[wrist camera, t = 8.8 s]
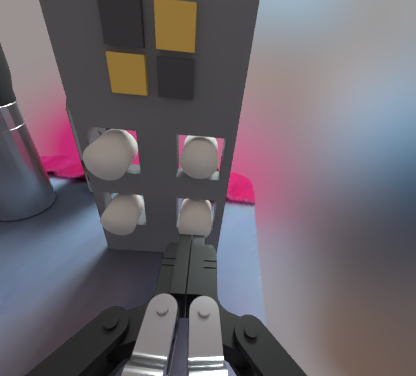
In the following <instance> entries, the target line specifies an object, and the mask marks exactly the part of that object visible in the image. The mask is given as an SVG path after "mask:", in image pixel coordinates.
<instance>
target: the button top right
mask: <svg viewBox="0 0 416 376" xmlns="http://www.w3.org/2000/svg"><path fill="white" fill-rule="evenodd" d="M180 164H181V168H182V170H183V171H184V172H185V173H186V174H187V175H188V176H190V177H192V178H196V179H204V178H208V177H210V176H211V175H213V174H214V173H215V171H216V170H217V168H218V164H219V160H218V146H217V141H216V139H215V138H213V137H201V136H190V135H189V136H188V137H187V138H186V140H185V143H184V147H183V150H182V154H181V158H180Z"/></svg>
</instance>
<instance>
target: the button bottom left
mask: <svg viewBox="0 0 416 376" xmlns="http://www.w3.org/2000/svg"><path fill="white" fill-rule="evenodd" d="M143 208H144V201H143V199H142V197H141V196H140V195H132V194H118V193H116V194H115V196H114V197H113V199H112V200H111V202H110V203H109V205H108V206H107V208H106V210H105V211H104V213H103V214H102V216H101V219H100V221H101V224H102V226H103V227H104V228H105V229H106V230H107V231H109V232H111V233H113V234H116V235H128V234H130V233H132V232H133V231H134V230H135V227H136V225H137V222H138V220H139V218H140V215H141V213H142V210H143Z"/></svg>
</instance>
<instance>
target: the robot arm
mask: <svg viewBox="0 0 416 376" xmlns="http://www.w3.org/2000/svg"><path fill="white" fill-rule="evenodd" d="M55 199H56V194H55V192H54V190H53V186H52V185H51V182H50V180H49V177H48V175H47V172H46V170H45V167H44V165H43V163H42V160H41V158H40V155H39V153H38V151H37V148H36V146H35V143H34V141H33V138H32V136H31V133H30V131H29V128H28V126H27V124H26V121H25V119H24V117H23V114H22V112H21V109H20V107H19V104H18V102H17V99H16V97H15V94H14V92H13V89H12V81H11V74H10V70H9V66H8V64H7V61H6V58H5V55H4V53H3V50H2V47H1V44H0V220H1V221H14V220H20V219H25V218H28V217H31V216H34V215H36V214H38V213H40V212H42V211H44V210H46V209H47V208H49V207H50V206H51V205H52V204H53V202H54V201H55ZM191 240H192V247H191ZM204 240H205V236H203V235H193V237H192V235H189V234H180V235H179V241H178V243H172V242H170V243H169V244H168V246H167V247H166V248H165V251H164V255H163V259H162V263H161V268H160V272H159V276H158V280H157V285H156V289H155V293H154V295H153V297H152V298H151V299H150V300H149V301H148V302H147V303H146V304H144V305H142V306H140V307H137V308H133V309H130V310H125V309H124V308H123V307H120V306H113V307H110V308H108V309H106V310H104V311H103V312H102V313H101V314H99V315H98V316H97V317H96V318H95V319H93V320H92V321H91V322H90V323H88V324H87V325H86V326H85V327H84V328H82V329H81V330H80V331H79V332H77V333H76V334H75V335H74V336H73V337H71V338H70V339H69V340H68V341H66V342H65V343H64V344H63V345H62V346H60V347H59V348H58V349H57V350H56V351H54V352H53V353H52V354H51V355H49V356H48V357H47V358H46V359H45V360H43V361H42V362H41V363H40V364H38V365H37V366H36V367H35V368H34V369H32V370H31V371H30V372H29V373H27V374H26V375H25V376H114V375H115V374H116V373H117V372H118V371H119V369H120V368H121V367H122V366H123V365H124V364H125V363H126V364H125V367H124V369H123V372H122V375H121V376H170V371H171V366H172V360H173V355H174V350H175V344H176V339H177V334H178V331H179V323H180V318H184V314H185V305H186V316H185V318H189V323H188V340H187V376H228V373H227V368H226V364H225V362H224V360H225V361H227V362H229V364H230V366H231V367H232V369H233V370H234V372H235V374H236V375H237V376H307V375H306V374H305V373H304V372H303V370H302V369H301V368H300V367H299V366H298V365H297V363H296V362H295V361H294V360H293V359H292V358H291V356H290V355H289V354H288V353H287V352H286V350H285V349H284V348H283V347H282V346H281V345H280V343H279V342H278V341H277V340H276V339H275V337H274V336H273V335H272V334H271V333H270V332H269V330H268V329H267V328H266V327H265V326H264V324H263V323H262V322H261V321H260V320H259V319H258V318H256V317H255V316H252V315H243V316H241V317H239V316H237V315H235V314H232V313H230V312H228V311H226V310H225V309H224V308H223V307H222V306H221V304H220V303H219V301H218V297H217V263H216V261H217V260H216V251H215V249H214V247H213V245H204ZM190 256H191V257H190ZM187 285H188V286H187ZM186 295H187V297H186Z"/></svg>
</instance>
